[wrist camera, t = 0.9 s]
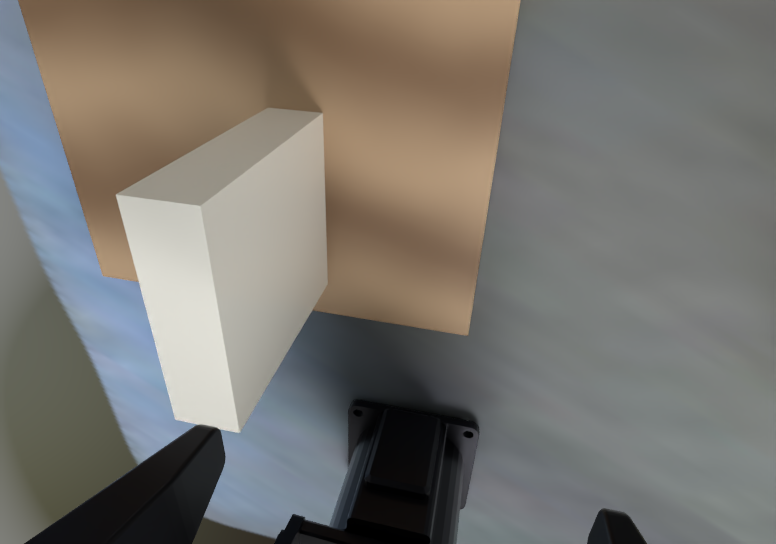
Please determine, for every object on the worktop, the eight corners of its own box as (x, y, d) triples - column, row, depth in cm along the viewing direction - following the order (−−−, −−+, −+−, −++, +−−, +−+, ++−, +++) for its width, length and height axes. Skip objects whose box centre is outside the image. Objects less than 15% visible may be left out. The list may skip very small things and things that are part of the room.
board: (469, 321, 22) (467, 335, 21) (117, 265, 24) (103, 275, 23) (607, -563, 10) (616, -611, 9) (-97, -480, 13) (-140, -512, 12)
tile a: (327, 284, 21) (239, 433, 14) (279, 276, 21) (171, 418, 15) (322, 112, 17) (200, 206, 11) (264, 107, 18) (109, 193, 11)
